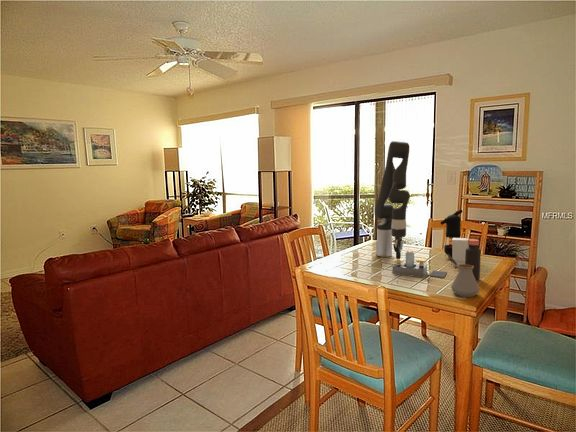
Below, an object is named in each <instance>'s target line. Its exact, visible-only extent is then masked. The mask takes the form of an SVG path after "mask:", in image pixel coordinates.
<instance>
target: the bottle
mask: <svg viewBox="0 0 576 432" xmlns="http://www.w3.org/2000/svg"><path fill="white" fill-rule="evenodd" d="M479 245H480V239H476V238H468V248H466V252H465V264H467V265H472V266H474V268H473V270H472V272H473V275H474V277H475V279H476V282H477V281H480V277H481V274H480V273H481V254H482V253H481V252H482V251H481V249H480V248H479Z"/></svg>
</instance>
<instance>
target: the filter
mask: <svg viewBox="0 0 576 432" xmlns="http://www.w3.org/2000/svg"><path fill="white" fill-rule="evenodd" d="M462 213H463V210H462V209H459V210H455V212H454V213H452V214H449V215H448V216H447V217H445V218H444V219H443V220H442V221H440V225H442V226H443V225H444V224H446V225H445V226H446V227H445V237H446V238H449V240H448V242H449V243H448V244H444V247H443V249H444V250H443V251H444V253H445V255H446V254H449V255H450V256H451V257H452V239H453V238H461V234H462V233H461V229H462V228H461V226H462V225H461V223H462V220H461V217H460V216H459V215H461V214H462Z"/></svg>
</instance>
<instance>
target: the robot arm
mask: <svg viewBox="0 0 576 432" xmlns="http://www.w3.org/2000/svg"><path fill="white" fill-rule="evenodd" d="M409 155H410V144H409V143H408V142H407V141H406V142H405V141H398V140H397V141H395V140H392V141H391V142H390V143H389V146H388V151H387V156H386V164H385V167H384V168H385V169H384V172H383V174H382V175H383V176H382V180H381V186H380V191H379V194H378V198H377V200H376V204H375V207H374V216H375V218H376V219H383V221H382V222H379V223H377V226H376V232H377V233H376V234H377V235H376V236H377V237H376V238H377V239H376V241H375V255H376V256H378V257H382V258H386V257H387V258H389V257H392V255H393V249H394V252H395V259H402V257H401V256H402V255H401V254H402V250H403V246H404V239H403V238H404V237H406V236H407V207H408V204H409V201H410V197H411V196H410V195H411V194H410V192H409V191H408V190H405V188H406V186H407V169H408V164H409V162H408V161H409ZM395 158H397V159H401V162H400V163H399V165H398V166H397V167H395V165H394V160H393V159H395ZM387 200H388V201H389V202H390V203H386V202H387ZM393 204H401V206H397V207H394V206H393ZM393 237H394V240H393Z"/></svg>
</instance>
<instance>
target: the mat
mask: <svg viewBox="0 0 576 432" xmlns="http://www.w3.org/2000/svg"><path fill="white" fill-rule="evenodd" d="M447 274H448V271H442V270H432V271H431V272H430V275H429V277H431V278H432V277H433V278H441V279H445V277H446V275H447Z"/></svg>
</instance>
